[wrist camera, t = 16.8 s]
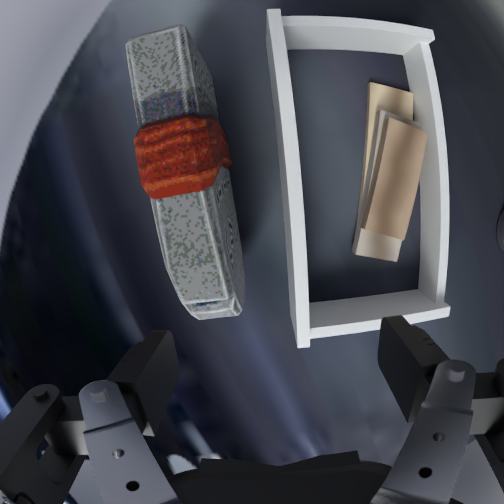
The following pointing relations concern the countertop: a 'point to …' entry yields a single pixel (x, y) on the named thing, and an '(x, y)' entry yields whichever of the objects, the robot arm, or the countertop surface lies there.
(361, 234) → the middle offcut
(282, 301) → the countertop surface
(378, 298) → the white open box
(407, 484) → the robot arm
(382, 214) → the top offcut
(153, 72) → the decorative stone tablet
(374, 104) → the bottom offcut
